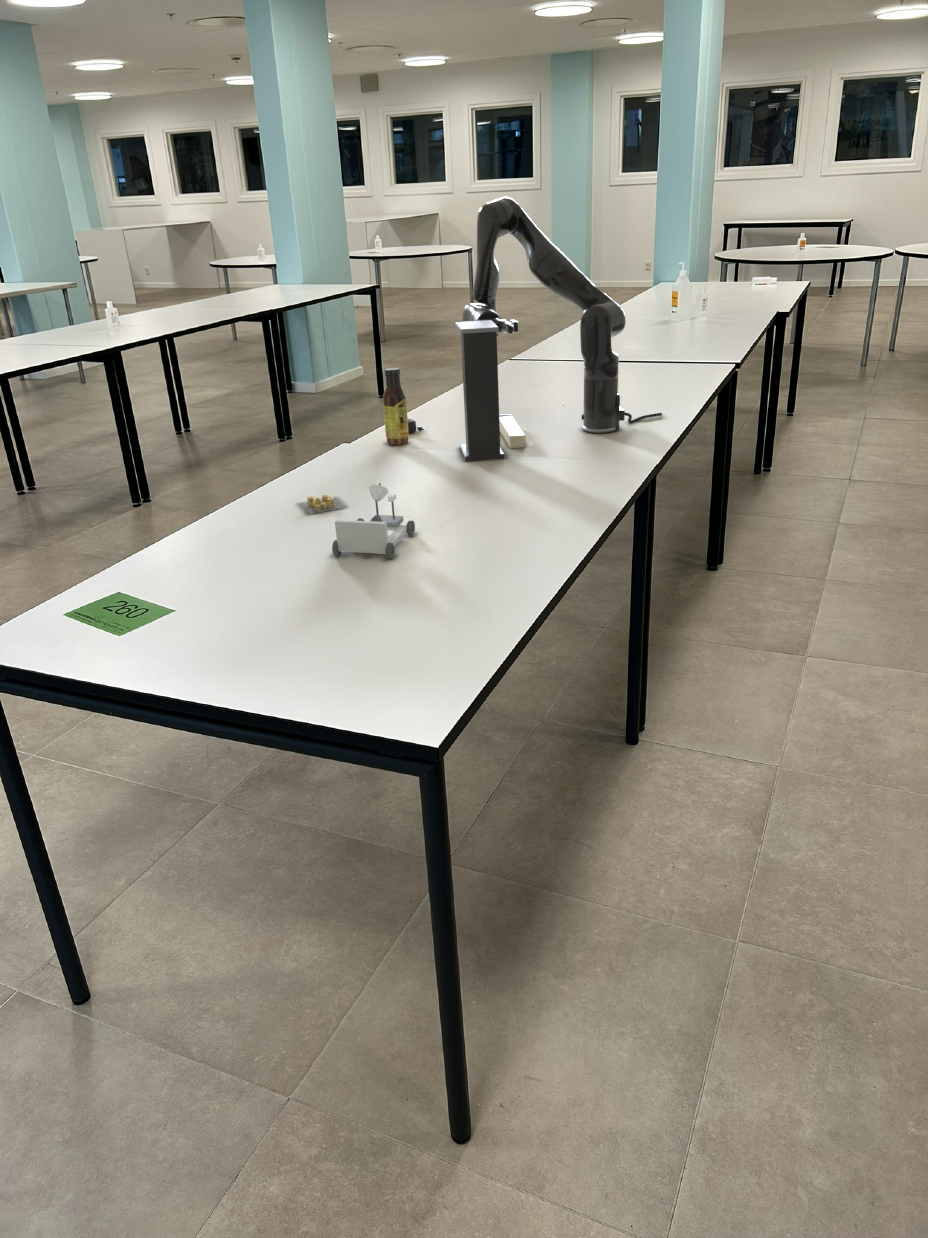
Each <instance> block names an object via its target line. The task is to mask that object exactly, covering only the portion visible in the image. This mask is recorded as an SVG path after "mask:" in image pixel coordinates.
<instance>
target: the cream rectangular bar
mask: <svg viewBox="0 0 928 1238" xmlns="http://www.w3.org/2000/svg"><path fill="white" fill-rule="evenodd" d="M499 422H500V434H501V435H502V437H503V438H504V440H505V442H506V444H507V445H508V447H509V449H517V448H518V449H519V448H526V434H525V433H524V431H523V430H522V428H521V427H520V426H519V424H518V423H517V421H516V419H515V418H514V416H513V414H512V413H506V414H505V413H504V414H502V413H501V414H499Z"/></svg>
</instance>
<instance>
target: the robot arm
mask: <svg viewBox="0 0 928 1238" xmlns="http://www.w3.org/2000/svg"><path fill="white" fill-rule="evenodd" d="M509 234H510V235H511V236H512V237H514V238H515V240H517V241H518V242H519V243H520V244H521V245H522V247H523V248H524V251H525V256H526V261H527V264H528V267H529V270H530V272H531V274H532V275H533V276H534V277H535V278H536V280H538V281H539V282H540V284H542V286H543V287H544V288H545V289H547V290H548V291H549V292H551V293H553V294H555V295H557V296H558V297H560V298H561V299H564V300H566V301H567V302H570V303H571V304H573V305H575V306H576V307H578V309H580V310H581V311H582V314H581V317H580V324H579V333H580V334H579V336H580V353H581V357H582V360H583V414H582V415H581V421H583V423H582V430H583V431H584V432H587V433H591V434H593V433H594V434H606V433H611V432H616V431H620V422H621V421H625V416H626V417H628V419H627V422H628V423H629V424H632V423H636V422H639V421H641V420H643V419H649V418H654V417H660V416H663V414H662V412H657V413H652V414H644V415H641V416H638V417H637V418H634V419H632V418H633V417H632V414H631V413H629V412H626V411H625V409H624V408H622V406H621V395H620V394H619V366H620V357H619V356H620V355H618V353H616V352H614V350H613V348H612V338H615V337H617V336H618V335H620V334H621V333H622V332H623V331H624V329H625V327H626V323H627V322H626V321H627V320H626V314H625V312H624V310H623V308H622V307H621V305H619V303H618V302H616V301H615V300H614V299H612V297H610V296H608V295H607V294H606V293H604V291H603V290H601V289H599V288H598V287H597V286H596V285H595V284H594V283H593V282H592V281H591V280H590V279H589V278H588V277H587V276H586V275H585V274H584V273H583V272H582V271H581V270H580V269H579V268H578V267H577V266H576V265H575V264H574V263H573V262H572V261H571V260H570V259H569V257H567V256H566V255H565V253H563V252H562V251H561V250H560V248H558V247H557V246H555V244H553V242H552V241H550V239H549V238H548V237H547V236H546V235H545V234H544V233H543V232H542V230H540V229H539V228H538V227H537V225H536V224H535V223H534V222H533V220H532V219H531V218H530V217H529V215H528V214H527V213H526V212H525V210H524V209H523V208H522V207H521V206H520V205H519V203H517V202H516V201H515V199H513V198H511V197H508V196H502V197H500V198H495V199H494V200H492V201H489V202H486V203H485V204H484V203H483V205H481V206H480V208H479V210H478V213H477V218H476V268H475V275H474V281H473V285H472V286H473V287H472V298H473V299H474V301H476V302H477V303H475V302H474V303H473V302H472V303H468V304H466V305H465V306H464V308H463V311H462V315H461V317H462V318H461V319H462V322H469V321H484V320H491V321H493V322H494V323H495V324H496V325H497V326H498V327H499V331H496V332H497V337H498V336H499V335H500V334H503V335H504V334H507V333H508V334H509V335H510V334H513V333H514V332H516V333H517V332H519V320H515V319H513V318H511V319H510V320H509V321H507V320H506V319H502V318H501V316H500V315H499V313H498V310H497V293H498V288H499V283H500V270H499V266H498V263H497V261H496V257H495V249H496V245H497V242H498V239H499V238H501V237H503V236H506V235H509Z"/></svg>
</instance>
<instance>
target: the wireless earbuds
mask: <svg viewBox="0 0 928 1238" xmlns="http://www.w3.org/2000/svg"><path fill="white" fill-rule="evenodd" d="M407 419H408V433H409V434H414V433H417V432H422V431H424V430H425V428H424V427H422V426H421V425H417V420H414V419H412V418H407Z"/></svg>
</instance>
